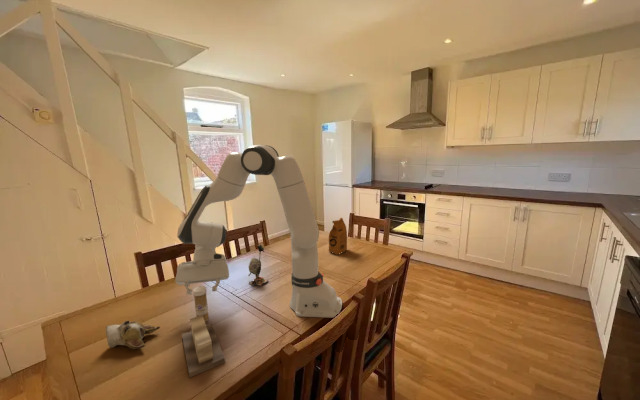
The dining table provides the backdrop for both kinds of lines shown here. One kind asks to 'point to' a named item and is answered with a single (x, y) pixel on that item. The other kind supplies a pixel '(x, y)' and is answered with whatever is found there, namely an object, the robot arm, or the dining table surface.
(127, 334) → the ceramic sculpture
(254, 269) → the bird figurine
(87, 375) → the dining table surface
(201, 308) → the sprinkles bottle
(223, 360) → the ridge stand
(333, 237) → the coffee package
